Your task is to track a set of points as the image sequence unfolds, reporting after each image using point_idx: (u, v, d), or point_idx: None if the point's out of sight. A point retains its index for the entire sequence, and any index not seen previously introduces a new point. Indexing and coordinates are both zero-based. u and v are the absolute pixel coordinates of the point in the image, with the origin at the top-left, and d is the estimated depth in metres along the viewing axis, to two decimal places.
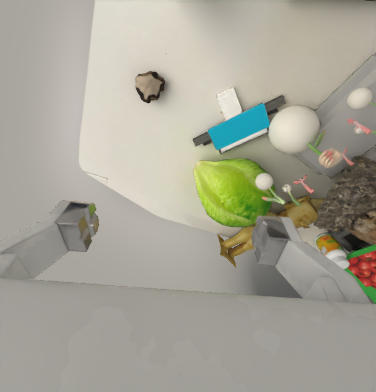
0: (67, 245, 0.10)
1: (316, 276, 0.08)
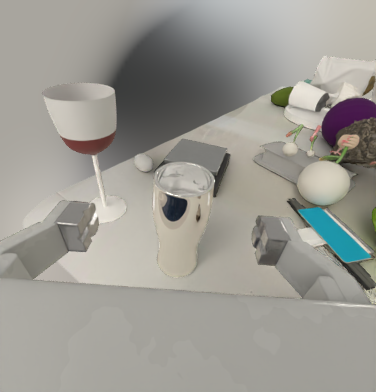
0: (67, 245, 0.10)
1: (316, 276, 0.08)
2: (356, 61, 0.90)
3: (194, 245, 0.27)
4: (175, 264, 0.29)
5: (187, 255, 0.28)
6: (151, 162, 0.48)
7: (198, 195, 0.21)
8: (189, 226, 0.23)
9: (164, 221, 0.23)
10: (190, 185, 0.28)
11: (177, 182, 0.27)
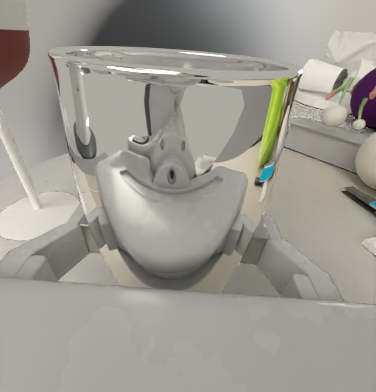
0: (88, 247, 0.10)
1: (293, 274, 0.08)
2: (374, 34, 0.77)
3: None
4: None
5: None
6: None
7: (263, 74, 0.04)
8: (209, 242, 0.06)
9: (109, 228, 0.06)
10: None
11: None
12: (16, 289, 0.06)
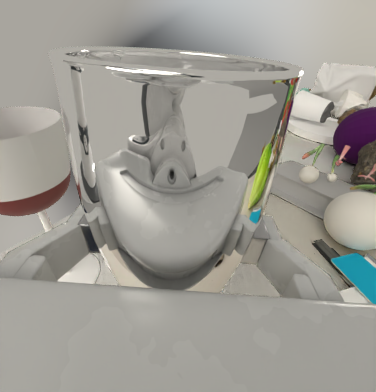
0: (88, 246, 0.10)
1: (293, 274, 0.08)
2: (359, 67, 0.83)
3: None
4: None
5: None
6: None
7: (263, 75, 0.04)
8: (209, 243, 0.06)
9: (109, 228, 0.06)
10: None
11: None
12: (16, 289, 0.06)
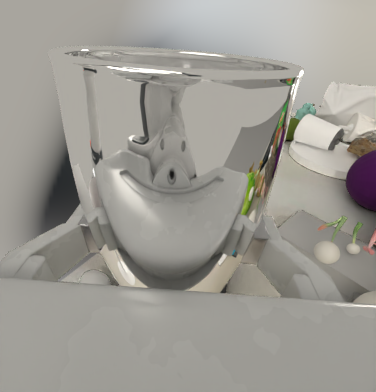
0: (88, 247, 0.10)
1: (293, 274, 0.08)
2: (371, 88, 0.75)
3: None
4: None
5: None
6: None
7: (263, 74, 0.04)
8: (209, 243, 0.06)
9: (109, 228, 0.06)
10: None
11: None
12: (16, 289, 0.06)
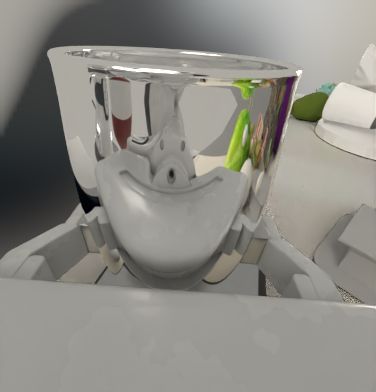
0: (88, 246, 0.10)
1: (293, 274, 0.08)
2: None
3: None
4: None
5: None
6: None
7: (262, 74, 0.04)
8: (209, 242, 0.06)
9: (109, 228, 0.06)
10: None
11: None
12: (16, 289, 0.06)
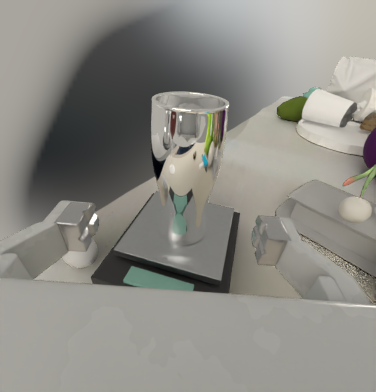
0: (67, 245, 0.10)
1: (316, 276, 0.08)
2: None
3: (204, 196, 0.22)
4: (181, 226, 0.23)
5: (195, 211, 0.22)
6: (90, 251, 0.24)
7: (212, 110, 0.16)
8: (200, 160, 0.18)
9: (167, 156, 0.18)
10: None
11: None
12: (16, 289, 0.06)
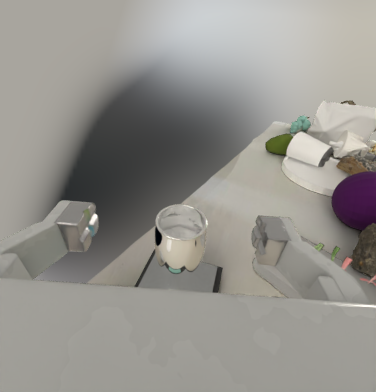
0: (67, 245, 0.10)
1: (316, 276, 0.08)
2: (360, 107, 0.79)
3: (192, 275, 0.31)
4: None
5: (186, 283, 0.31)
6: None
7: (194, 237, 0.25)
8: (187, 262, 0.27)
9: (166, 258, 0.27)
10: (187, 222, 0.32)
11: (175, 220, 0.31)
12: (16, 289, 0.06)
